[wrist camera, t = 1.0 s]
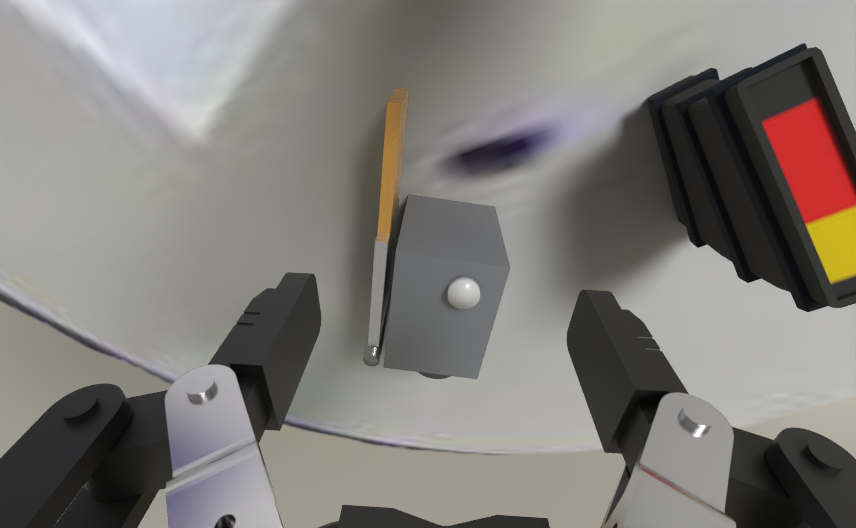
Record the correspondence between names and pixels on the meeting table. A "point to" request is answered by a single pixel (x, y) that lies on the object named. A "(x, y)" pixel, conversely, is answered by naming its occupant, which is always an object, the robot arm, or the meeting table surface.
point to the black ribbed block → (767, 173)
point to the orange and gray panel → (386, 223)
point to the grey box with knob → (445, 287)
